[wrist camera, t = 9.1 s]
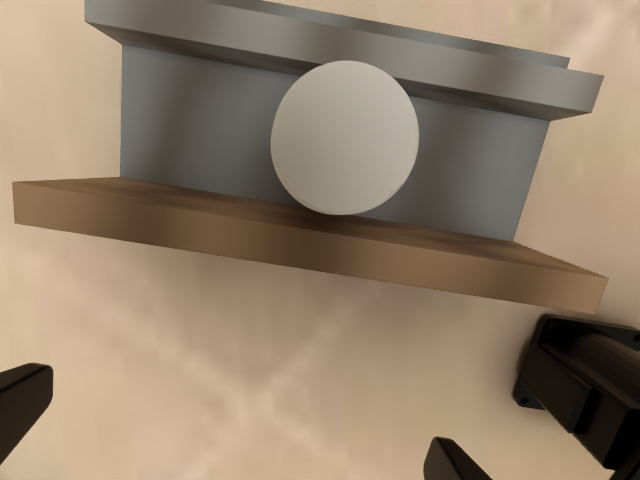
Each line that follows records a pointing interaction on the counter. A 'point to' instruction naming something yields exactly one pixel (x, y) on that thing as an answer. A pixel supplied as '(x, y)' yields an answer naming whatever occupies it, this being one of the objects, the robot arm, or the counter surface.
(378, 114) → the pill bottle
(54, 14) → the counter surface
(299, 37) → the cleat board
